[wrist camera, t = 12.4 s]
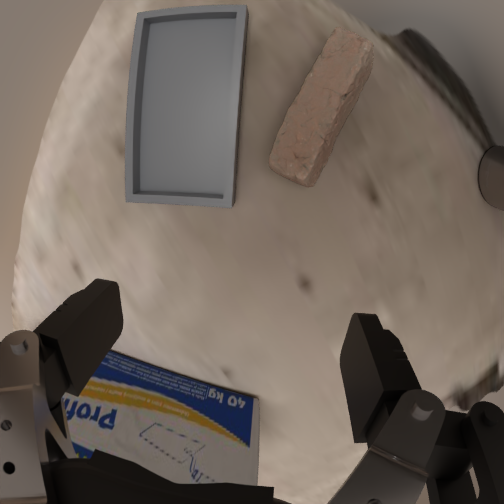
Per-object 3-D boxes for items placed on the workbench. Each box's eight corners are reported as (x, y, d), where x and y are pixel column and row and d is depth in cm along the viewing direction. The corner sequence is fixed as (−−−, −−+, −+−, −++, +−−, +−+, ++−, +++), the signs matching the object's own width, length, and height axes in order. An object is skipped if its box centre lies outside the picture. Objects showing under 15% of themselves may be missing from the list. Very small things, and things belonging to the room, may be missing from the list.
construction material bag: (265, 393, 49) (255, 558, 21) (247, 428, 53) (232, 566, 25) (44, 317, 47) (-50, 424, 19) (51, 359, 51) (-22, 460, 23)
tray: (248, 14, 28) (246, 4, 25) (234, 202, 37) (231, 208, 34) (146, 19, 29) (137, 12, 26) (135, 196, 38) (125, 202, 35)
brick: (335, 21, 22) (381, 40, 21) (339, 56, 30) (375, 73, 29) (256, 163, 27) (302, 187, 26) (277, 171, 35) (312, 191, 34)
